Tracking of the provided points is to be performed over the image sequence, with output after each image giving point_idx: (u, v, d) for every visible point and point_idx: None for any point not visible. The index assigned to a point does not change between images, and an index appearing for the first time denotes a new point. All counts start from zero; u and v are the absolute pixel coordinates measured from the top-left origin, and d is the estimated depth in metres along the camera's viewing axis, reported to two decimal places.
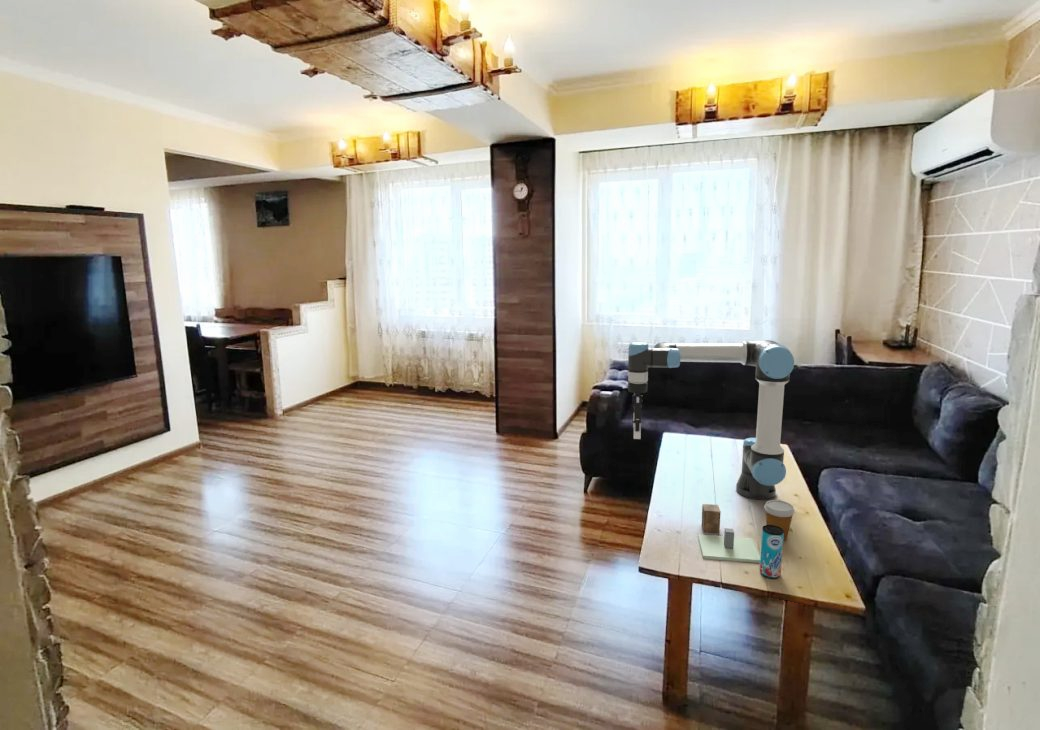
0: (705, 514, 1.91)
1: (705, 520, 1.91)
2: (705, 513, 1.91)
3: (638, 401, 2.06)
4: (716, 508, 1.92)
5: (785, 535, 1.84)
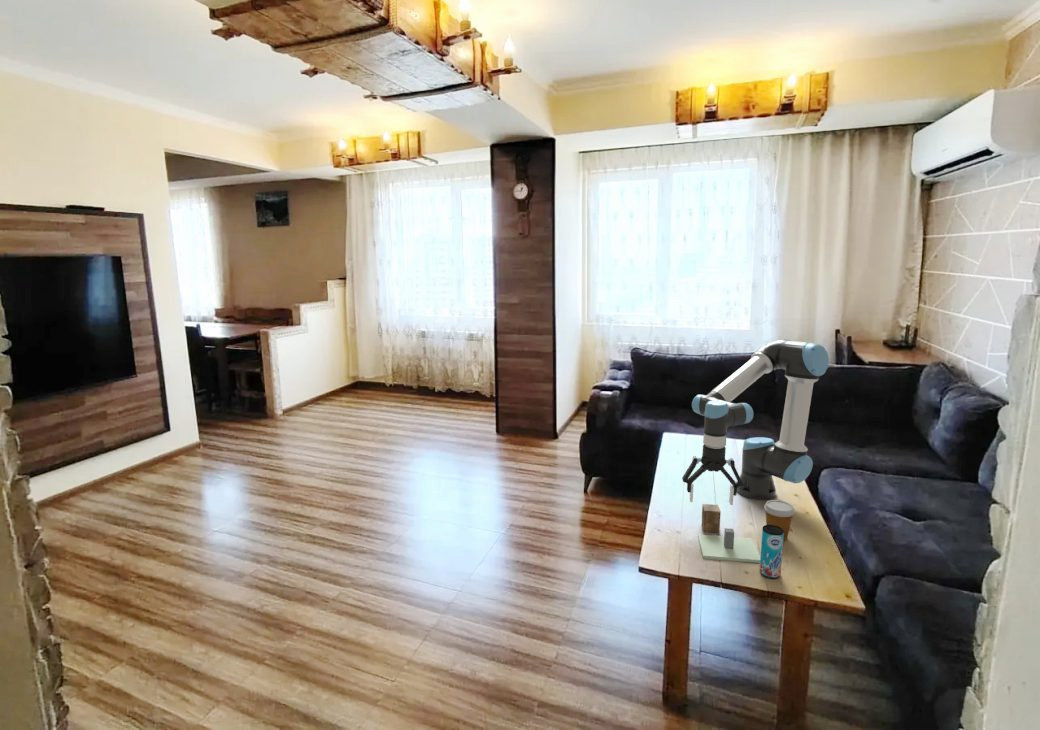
0: (705, 514, 1.91)
1: (705, 520, 1.91)
2: (705, 513, 1.91)
3: (693, 461, 1.90)
4: (716, 508, 1.92)
5: (785, 535, 1.84)
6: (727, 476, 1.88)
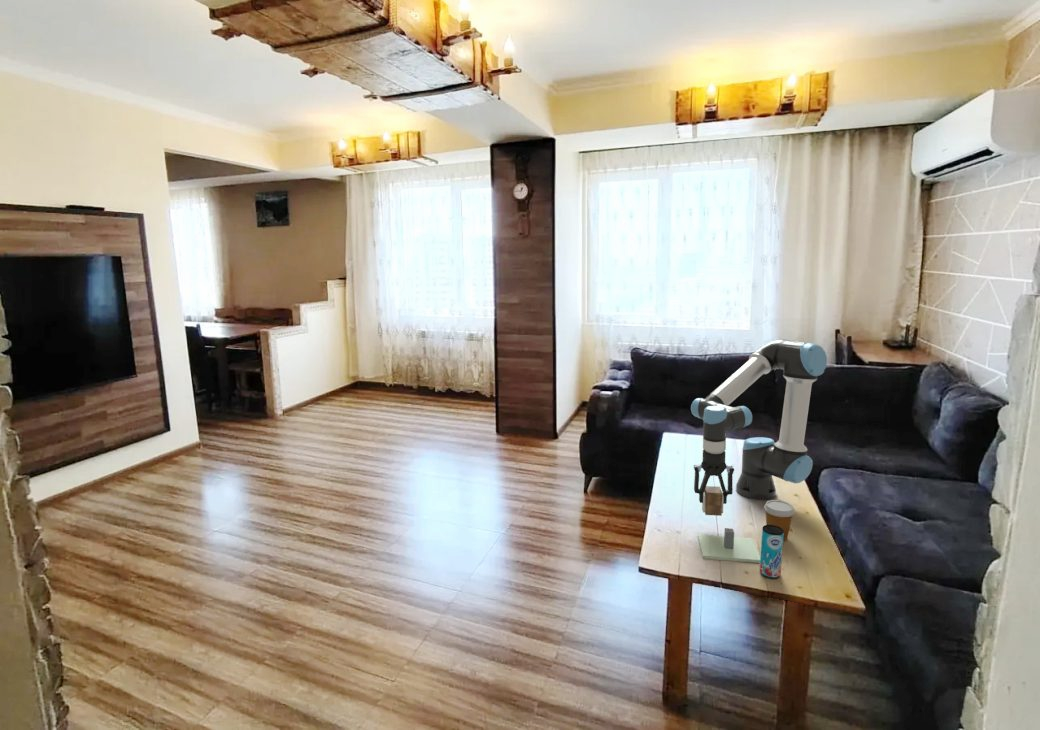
0: (707, 496, 1.90)
1: (707, 502, 1.90)
2: (707, 495, 1.90)
3: None
4: (718, 490, 1.91)
5: (785, 535, 1.84)
6: (721, 483, 1.89)
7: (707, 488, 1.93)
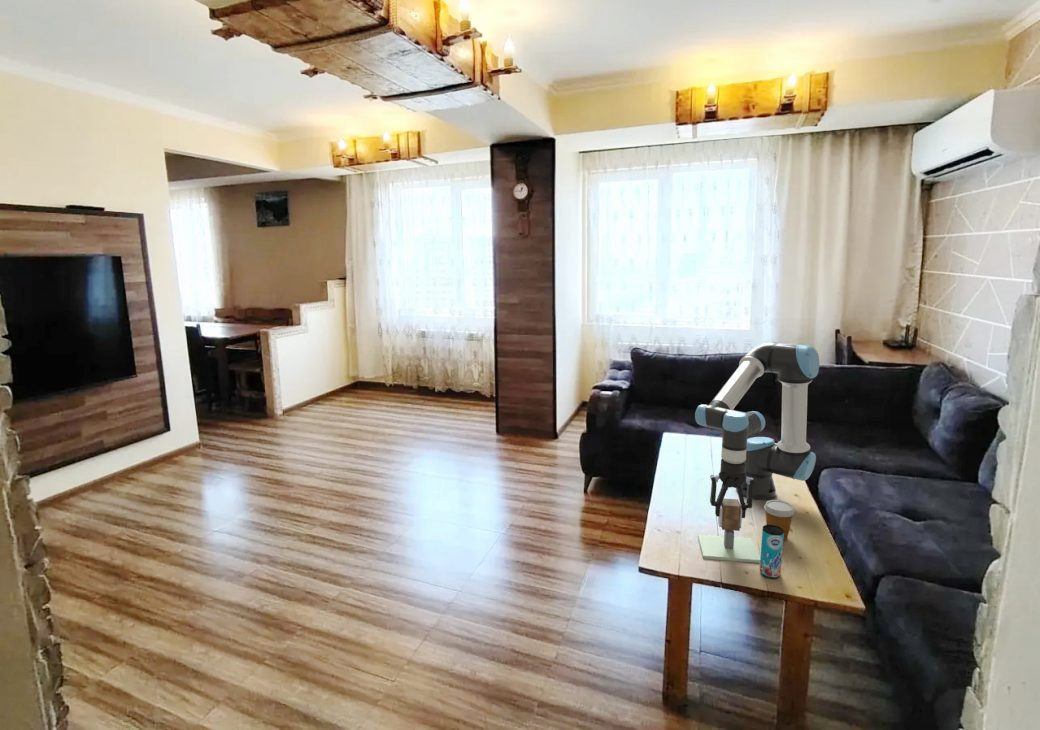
0: (724, 509, 1.76)
1: (724, 516, 1.76)
2: (724, 508, 1.76)
3: None
4: (736, 503, 1.77)
5: (785, 535, 1.84)
6: (740, 495, 1.75)
7: (724, 501, 1.79)
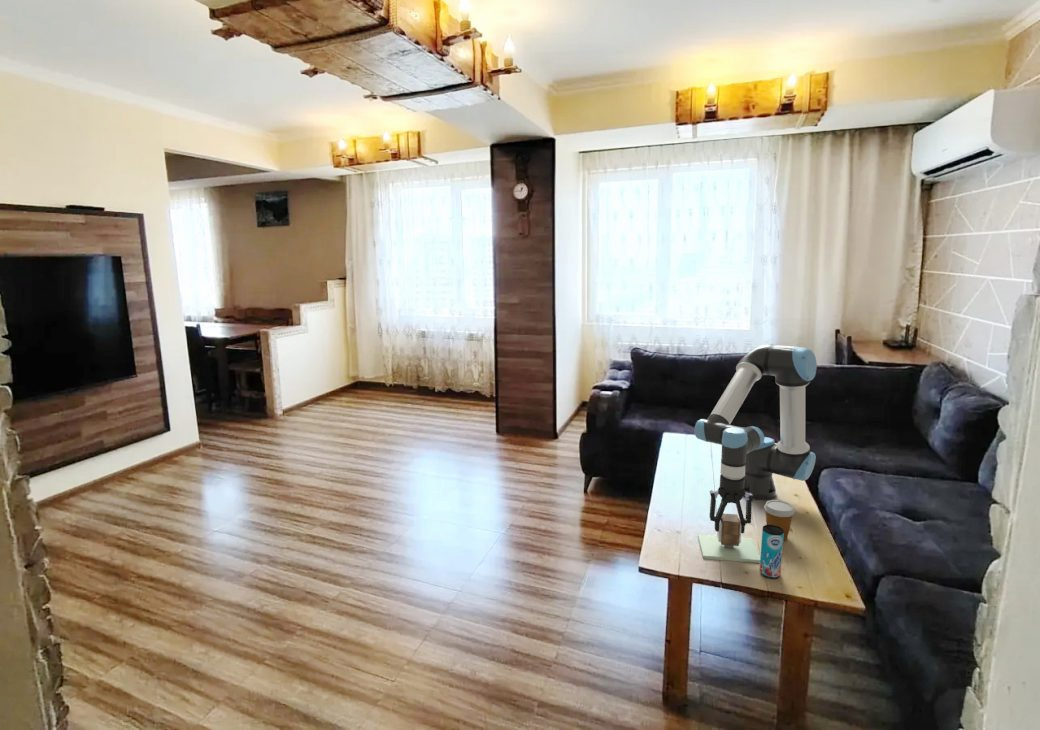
0: (723, 524, 1.77)
1: (723, 531, 1.77)
2: (723, 523, 1.77)
3: (711, 496, 1.78)
4: (735, 518, 1.78)
5: (785, 535, 1.84)
6: (739, 511, 1.76)
7: (724, 516, 1.80)
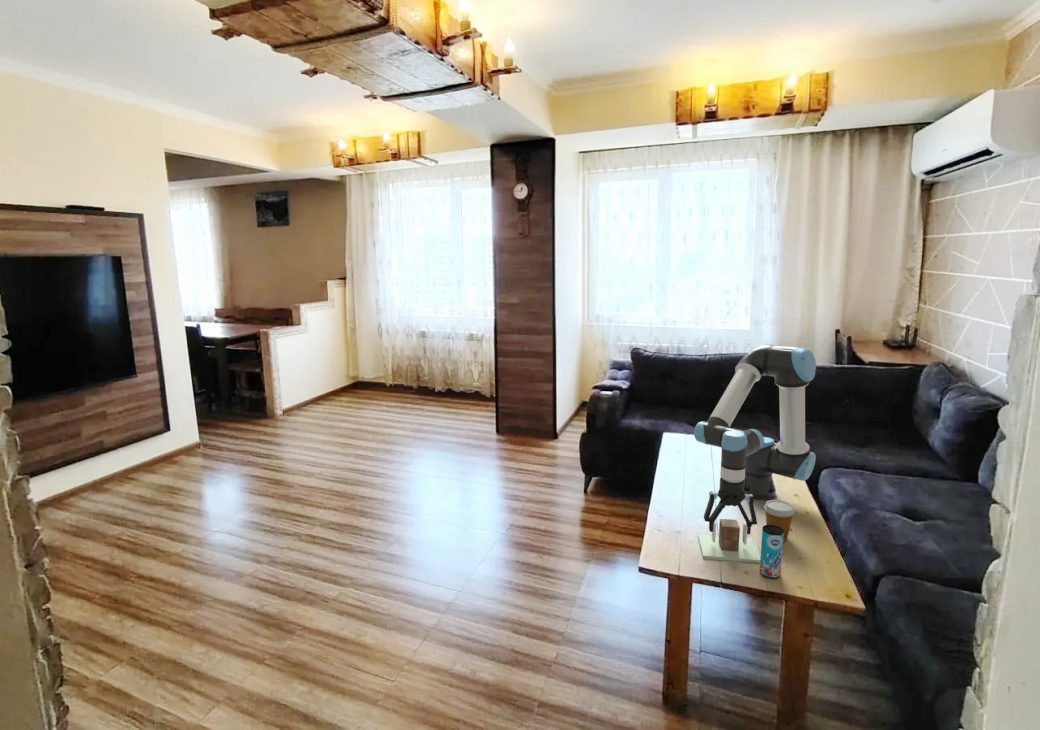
0: (723, 530, 1.77)
1: (723, 536, 1.78)
2: (723, 529, 1.77)
3: (710, 497, 1.78)
4: (735, 523, 1.78)
5: (785, 535, 1.84)
6: (743, 513, 1.76)
7: (723, 521, 1.80)
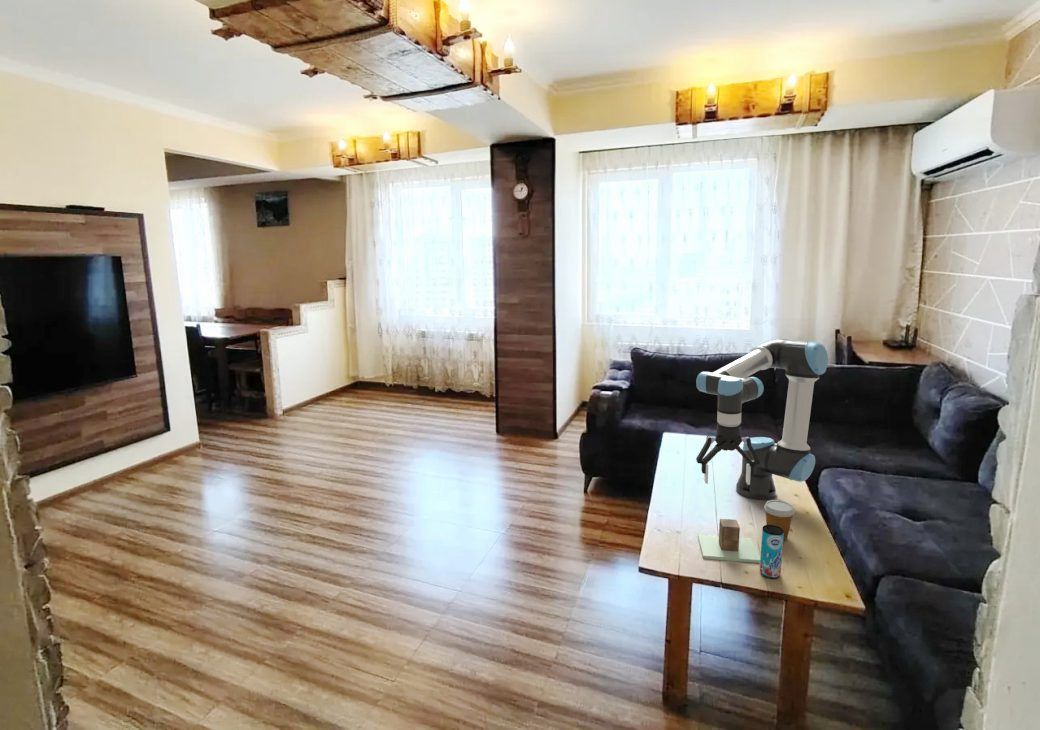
0: (723, 530, 1.77)
1: (723, 536, 1.78)
2: (723, 529, 1.77)
3: (707, 440, 1.82)
4: (735, 523, 1.78)
5: (785, 535, 1.84)
6: (743, 455, 1.80)
7: (723, 521, 1.80)
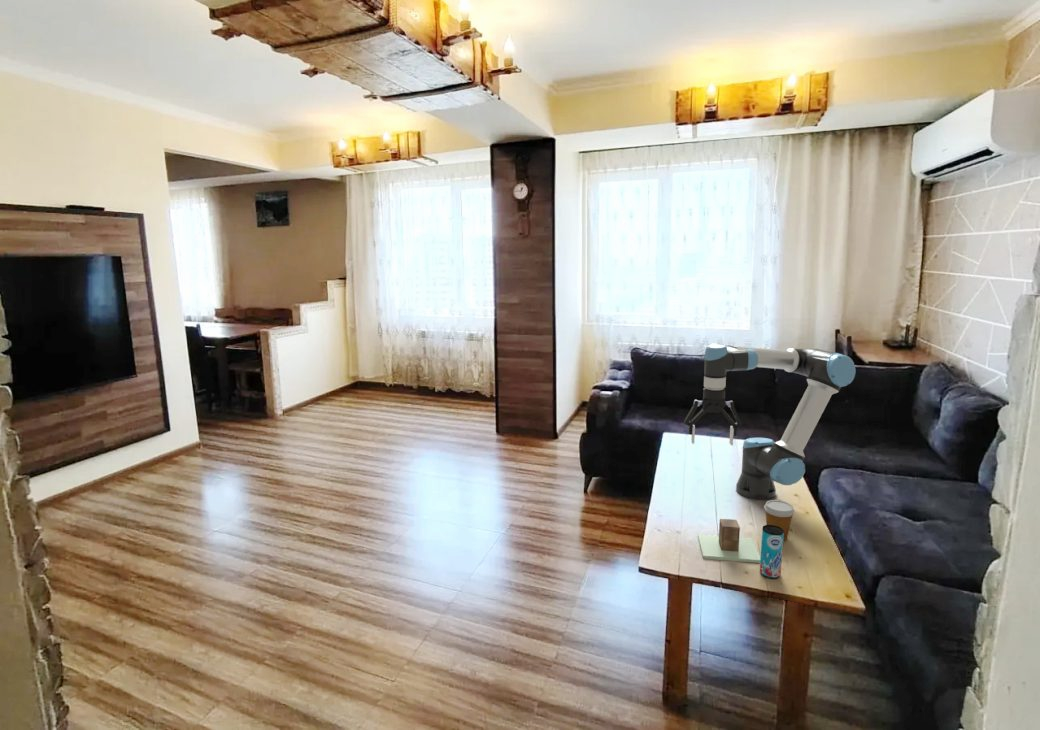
0: (723, 530, 1.77)
1: (723, 536, 1.78)
2: (723, 529, 1.77)
3: (694, 403, 1.98)
4: (735, 523, 1.78)
5: (785, 535, 1.84)
6: (727, 417, 1.96)
7: (723, 521, 1.80)
